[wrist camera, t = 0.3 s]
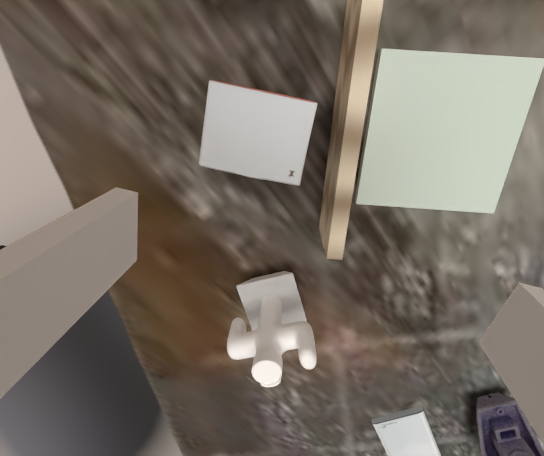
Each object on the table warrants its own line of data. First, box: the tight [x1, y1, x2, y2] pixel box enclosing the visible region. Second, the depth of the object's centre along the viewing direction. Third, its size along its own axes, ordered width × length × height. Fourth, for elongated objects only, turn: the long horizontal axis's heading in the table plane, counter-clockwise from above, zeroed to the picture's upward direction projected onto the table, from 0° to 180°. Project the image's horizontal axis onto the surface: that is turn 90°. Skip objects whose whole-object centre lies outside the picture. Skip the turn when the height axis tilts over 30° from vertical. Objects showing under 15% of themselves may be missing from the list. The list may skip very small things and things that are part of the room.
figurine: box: [227, 271, 317, 387], centre depth 36 cm, size 7×9×15 cm
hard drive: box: [371, 406, 441, 456], centre depth 52 cm, size 2×8×12 cm
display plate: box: [354, 49, 544, 213], centre depth 34 cm, size 16×16×1 cm
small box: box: [199, 80, 317, 186], centre depth 29 cm, size 8×6×13 cm
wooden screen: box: [319, 0, 383, 260], centre depth 31 cm, size 24×2×8 cm, turn 176°
